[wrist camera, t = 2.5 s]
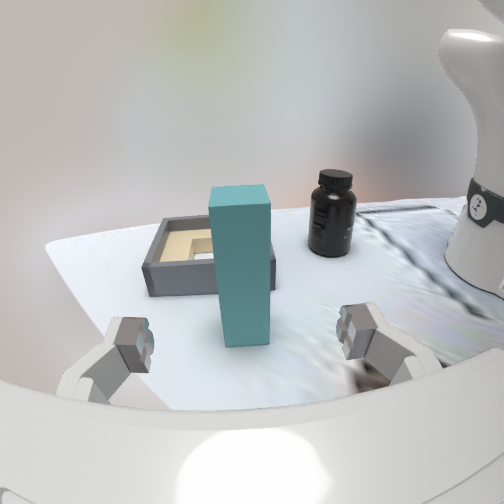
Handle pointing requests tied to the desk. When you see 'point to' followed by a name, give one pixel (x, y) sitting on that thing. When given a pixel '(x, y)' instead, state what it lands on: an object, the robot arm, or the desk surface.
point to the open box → (184, 259)
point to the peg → (242, 261)
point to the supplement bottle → (332, 213)
